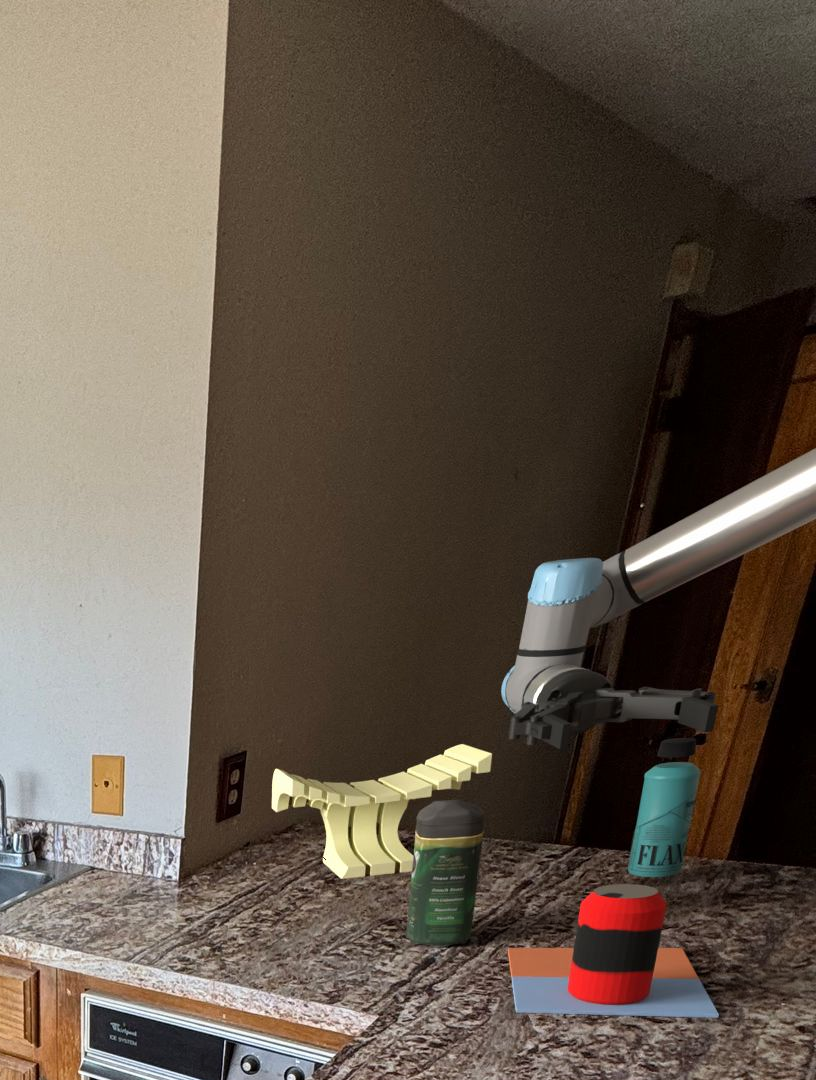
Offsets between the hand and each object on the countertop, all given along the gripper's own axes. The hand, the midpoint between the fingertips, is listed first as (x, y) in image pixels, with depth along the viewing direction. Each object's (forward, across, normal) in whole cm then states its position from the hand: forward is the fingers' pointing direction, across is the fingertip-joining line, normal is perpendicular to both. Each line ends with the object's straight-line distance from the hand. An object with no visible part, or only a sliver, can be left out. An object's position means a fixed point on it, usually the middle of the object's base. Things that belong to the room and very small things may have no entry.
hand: (637, 727), depth 109 cm
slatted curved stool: (-58, +15, -31) cm, 67 cm away
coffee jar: (-14, +14, -29) cm, 35 cm away
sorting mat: (+6, +1, -28) cm, 28 cm away
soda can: (+11, +2, -27) cm, 29 cm away
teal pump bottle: (-34, -18, -30) cm, 48 cm away
